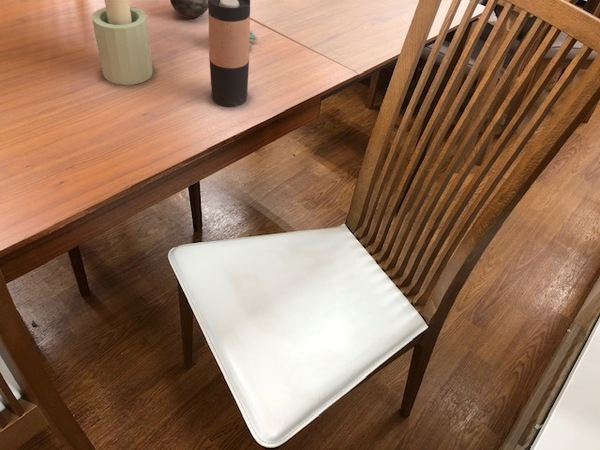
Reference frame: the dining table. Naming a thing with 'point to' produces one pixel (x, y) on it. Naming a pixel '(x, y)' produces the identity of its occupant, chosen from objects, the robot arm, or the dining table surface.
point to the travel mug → (229, 50)
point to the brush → (118, 12)
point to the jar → (123, 48)
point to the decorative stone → (190, 7)
